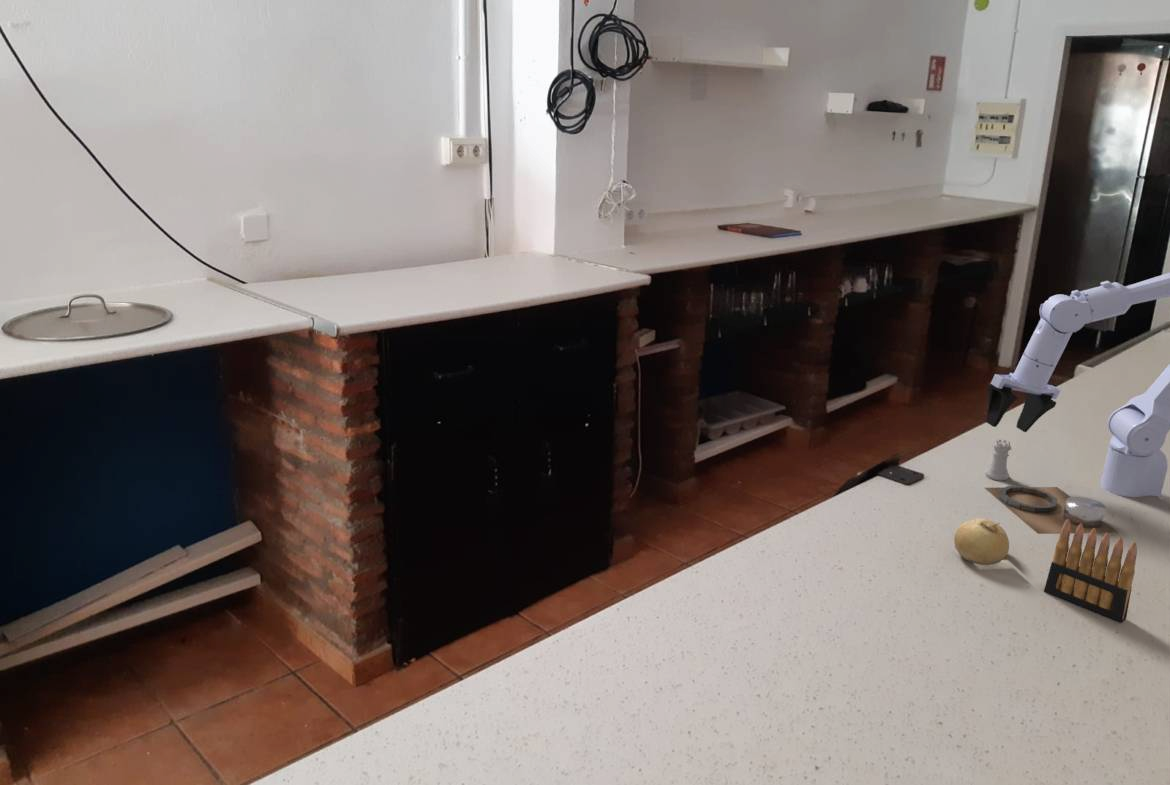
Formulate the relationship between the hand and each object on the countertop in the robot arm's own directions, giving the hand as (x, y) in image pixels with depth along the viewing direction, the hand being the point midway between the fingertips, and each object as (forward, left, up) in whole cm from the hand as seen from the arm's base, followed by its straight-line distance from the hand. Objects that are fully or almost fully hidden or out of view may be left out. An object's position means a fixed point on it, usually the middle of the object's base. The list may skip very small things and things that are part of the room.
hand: (1006, 427), depth 169 cm
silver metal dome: (-6, +18, -10) cm, 21 cm away
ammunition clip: (+9, +42, -12) cm, 45 cm away
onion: (+17, +28, -12) cm, 35 cm away
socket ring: (-1, +10, -10) cm, 14 cm away
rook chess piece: (-1, -1, -12) cm, 12 cm away
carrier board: (-3, +13, -11) cm, 18 cm away
